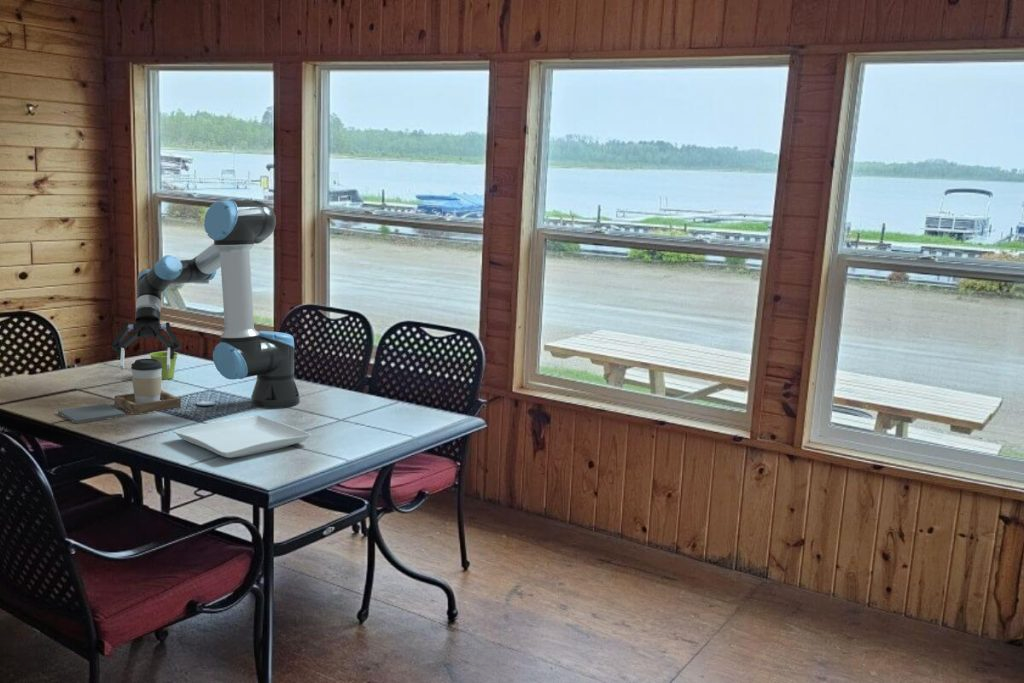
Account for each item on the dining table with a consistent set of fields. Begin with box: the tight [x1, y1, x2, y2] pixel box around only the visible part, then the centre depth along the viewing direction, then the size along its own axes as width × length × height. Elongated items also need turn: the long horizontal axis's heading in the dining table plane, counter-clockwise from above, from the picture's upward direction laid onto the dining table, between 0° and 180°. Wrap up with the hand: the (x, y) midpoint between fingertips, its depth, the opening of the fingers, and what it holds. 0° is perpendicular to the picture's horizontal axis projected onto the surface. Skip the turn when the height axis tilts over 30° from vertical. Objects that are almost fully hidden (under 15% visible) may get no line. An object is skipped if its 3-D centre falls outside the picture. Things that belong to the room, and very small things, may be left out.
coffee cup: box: [130, 358, 163, 404], centre depth 281 cm, size 9×9×15 cm
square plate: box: [172, 415, 312, 459], centre depth 250 cm, size 27×27×4 cm
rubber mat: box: [57, 403, 126, 424], centre depth 270 cm, size 14×14×1 cm
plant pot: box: [149, 351, 179, 380], centre depth 320 cm, size 9×9×9 cm
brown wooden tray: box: [114, 389, 182, 415], centre depth 282 cm, size 14×14×3 cm
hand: (145, 367), depth 285 cm, fingers open, 13 cm apart
